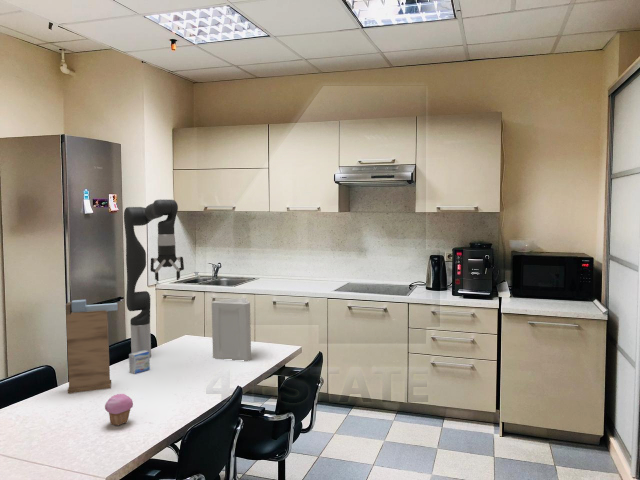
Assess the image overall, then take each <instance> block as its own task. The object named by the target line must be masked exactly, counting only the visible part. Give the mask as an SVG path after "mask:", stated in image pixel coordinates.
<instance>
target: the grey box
mask: <svg viewBox="0 0 640 480" xmlns="http://www.w3.org/2000/svg"><path fill="white" fill-rule="evenodd" d="M211 324H212V325H211V328H212V329H211V331H212V332H211V333H212V358H215V360H224V359H232V360H231V361H235V360H244V361H243V362H249V361H250V360H252V343H251V342H252V341H251V340H252V338H251V337H252V335H251V330H252V329H251V302H250V301H249V300H247V299H246V298H245V297H243V298H242V297H238V298H237V297H236V298H230V299H220V300H214V301H211ZM249 359H250V360H249ZM248 360H249V361H248Z"/></svg>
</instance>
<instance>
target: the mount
mask: <svg viewBox="0 0 640 480" xmlns="http://www.w3.org/2000/svg"><path fill="white" fill-rule="evenodd" d="M108 312H109V311H106V310H104V311H90V312H76V313H72V301H70V302H68V301H67V303H65V320H66V324H65V325H66V327H65V328H66V345H67V369H68V370H67V371H68V372H67V374H68V387H67V394H68V395H69V394H77V393H83V392H84V393H85V392H92V391H99V390H107V389H112V379H111V374H110V373H111V372H110V349H109V346H110V344H109V342H110V341H109V316H108Z"/></svg>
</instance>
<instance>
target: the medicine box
mask: <svg viewBox="0 0 640 480" xmlns="http://www.w3.org/2000/svg"><path fill="white" fill-rule="evenodd" d="M150 364H151V362H150V358H149V351H146V350H143V351H139V352H135V353H129V354H128V365H129V367H128V368H129V370H128V371H129V373H131V374H134V375H136V374H139V373H142V372H146V371H150V369H151V365H150Z"/></svg>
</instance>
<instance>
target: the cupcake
mask: <svg viewBox="0 0 640 480" xmlns="http://www.w3.org/2000/svg"><path fill="white" fill-rule="evenodd" d="M133 402H134V401H133V398H131V397H130V396H128V395H127V394H125V393H117V394H113V395H112V396H111V397H109V399H107V401H106V403H105V404H104V408H105V411H106V412H107V413H108V416H109V421H110V424H111V425H113V426H117V427H118V426H120V425H122V424H126V423H128V422H129V416H130V413H131V409H132V408H133V406H134V403H133Z"/></svg>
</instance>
